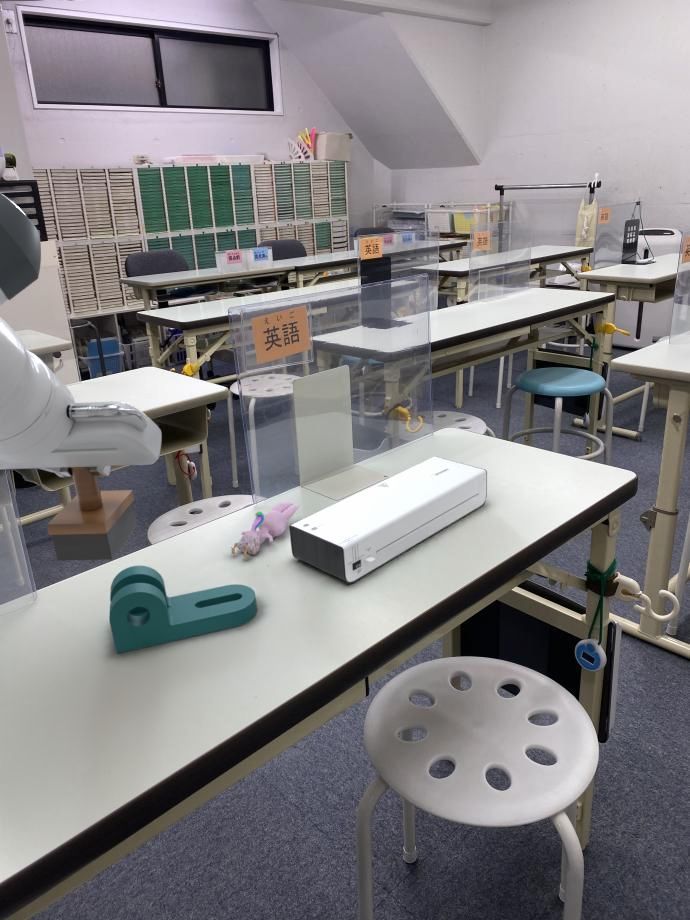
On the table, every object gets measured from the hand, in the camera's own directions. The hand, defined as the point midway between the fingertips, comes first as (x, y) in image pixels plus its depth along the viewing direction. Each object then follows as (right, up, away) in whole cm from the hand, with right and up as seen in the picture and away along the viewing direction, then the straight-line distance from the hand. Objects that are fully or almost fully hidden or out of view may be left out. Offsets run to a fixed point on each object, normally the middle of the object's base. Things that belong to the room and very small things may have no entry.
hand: (86, 470), depth 73 cm
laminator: (+36, -11, +35) cm, 52 cm away
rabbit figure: (+16, -12, +36) cm, 41 cm away
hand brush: (+1, -8, +2) cm, 8 cm away
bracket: (+7, -20, +16) cm, 27 cm away
